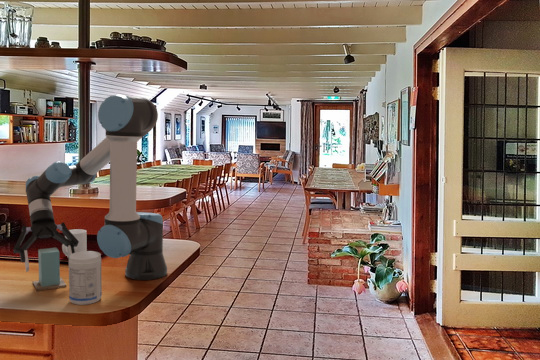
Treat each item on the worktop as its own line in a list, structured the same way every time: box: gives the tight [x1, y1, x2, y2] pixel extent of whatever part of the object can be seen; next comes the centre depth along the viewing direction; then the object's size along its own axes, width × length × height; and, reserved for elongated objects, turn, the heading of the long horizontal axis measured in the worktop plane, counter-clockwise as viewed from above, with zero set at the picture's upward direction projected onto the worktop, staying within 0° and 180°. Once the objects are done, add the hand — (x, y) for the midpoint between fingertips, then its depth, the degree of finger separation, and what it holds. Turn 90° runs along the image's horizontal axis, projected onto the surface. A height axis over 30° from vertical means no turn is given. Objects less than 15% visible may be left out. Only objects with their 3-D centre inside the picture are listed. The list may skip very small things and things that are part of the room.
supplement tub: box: [68, 250, 103, 306], centre depth 146 cm, size 10×10×15 cm
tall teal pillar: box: [37, 247, 61, 287], centre depth 159 cm, size 6×6×11 cm
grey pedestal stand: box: [32, 276, 67, 292], centre depth 159 cm, size 9×9×9 cm
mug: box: [61, 228, 88, 258], centre depth 193 cm, size 12×8×10 cm
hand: (50, 266), depth 157 cm, fingers open, 13 cm apart
